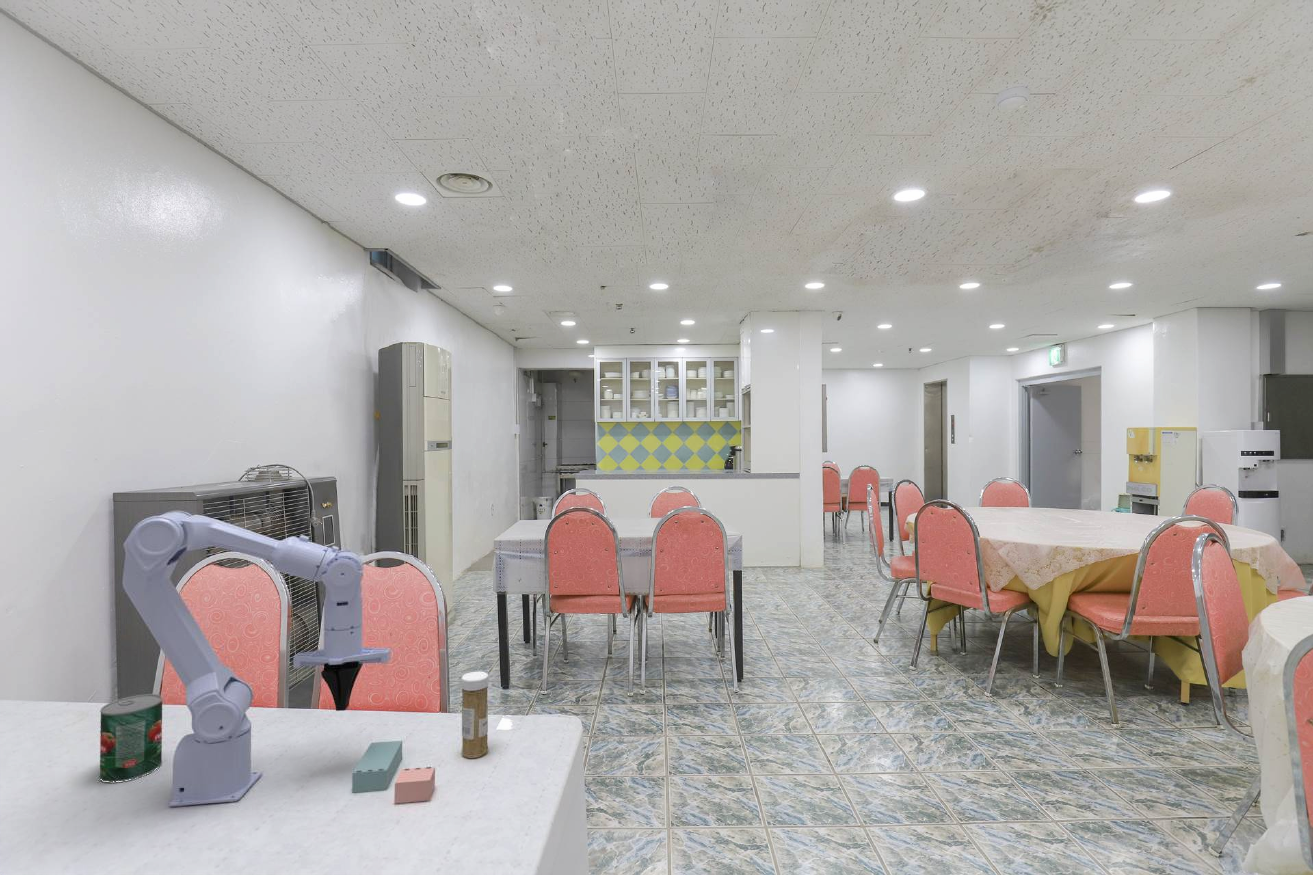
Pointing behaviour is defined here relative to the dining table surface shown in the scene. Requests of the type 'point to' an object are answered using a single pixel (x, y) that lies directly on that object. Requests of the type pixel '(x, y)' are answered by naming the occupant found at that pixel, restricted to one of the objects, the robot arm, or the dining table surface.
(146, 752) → the canned tomato
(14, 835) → the dining table surface
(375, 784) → the teal elongated prism
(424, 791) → the stub
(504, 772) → the dining table surface
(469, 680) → the sprinkles bottle
